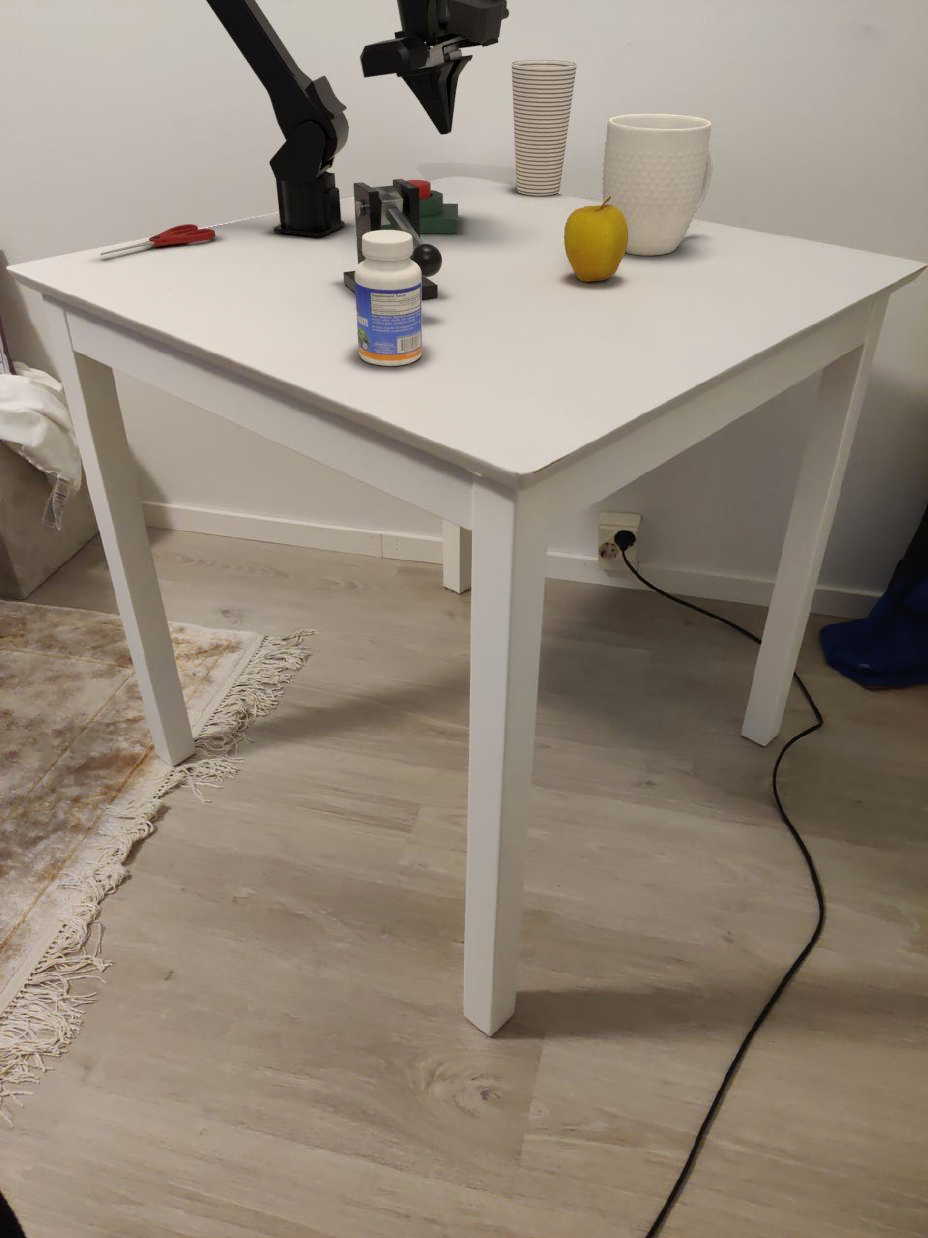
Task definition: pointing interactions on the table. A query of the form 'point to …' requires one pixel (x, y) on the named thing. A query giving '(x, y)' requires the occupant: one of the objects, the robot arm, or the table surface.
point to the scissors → (174, 237)
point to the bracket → (370, 221)
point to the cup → (541, 122)
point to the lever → (407, 230)
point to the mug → (656, 176)
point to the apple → (595, 241)
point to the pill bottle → (388, 299)
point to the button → (422, 187)
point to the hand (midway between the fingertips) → (445, 133)
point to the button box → (435, 215)
